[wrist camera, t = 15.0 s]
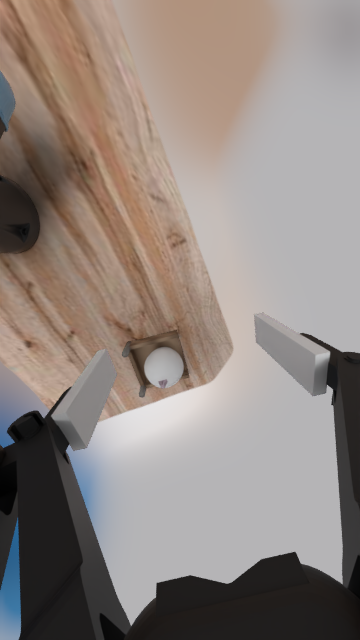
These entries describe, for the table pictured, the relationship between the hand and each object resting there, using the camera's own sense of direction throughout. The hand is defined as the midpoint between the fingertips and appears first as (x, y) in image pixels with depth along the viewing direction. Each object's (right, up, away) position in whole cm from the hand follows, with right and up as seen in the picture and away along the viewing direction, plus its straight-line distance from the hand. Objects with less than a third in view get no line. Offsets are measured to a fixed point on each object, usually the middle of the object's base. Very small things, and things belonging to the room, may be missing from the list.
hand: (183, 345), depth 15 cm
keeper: (-7, -9, +37) cm, 39 cm away
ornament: (-5, -9, +37) cm, 38 cm away
